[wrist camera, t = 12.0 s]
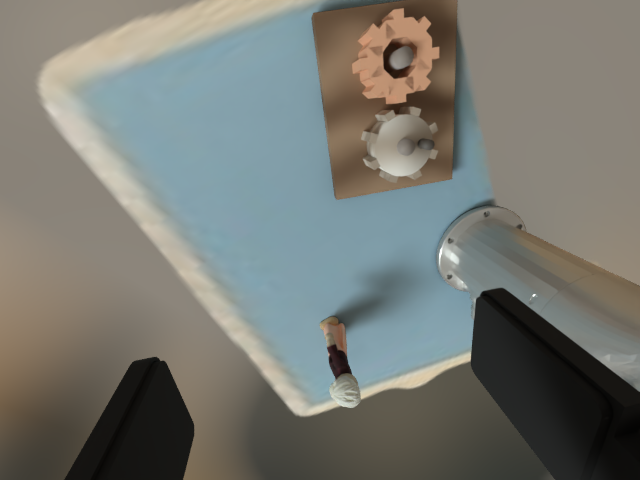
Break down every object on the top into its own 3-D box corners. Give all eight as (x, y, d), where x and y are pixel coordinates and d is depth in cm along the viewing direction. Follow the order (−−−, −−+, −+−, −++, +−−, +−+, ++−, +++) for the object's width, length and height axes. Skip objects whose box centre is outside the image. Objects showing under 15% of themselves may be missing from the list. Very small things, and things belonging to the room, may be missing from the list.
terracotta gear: (423, 98, 32) (438, 96, 29) (356, 108, 32) (364, 108, 29) (423, 14, 29) (439, 3, 26) (348, 24, 29) (356, 14, 26)
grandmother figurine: (353, 338, 45) (380, 415, 34) (330, 349, 46) (349, 430, 34) (330, 301, 42) (351, 372, 31) (306, 313, 43) (318, 389, 31)
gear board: (445, 176, 38) (476, 188, 32) (334, 196, 37) (345, 212, 31) (449, -2, 30) (490, -29, 25) (311, 17, 29) (320, -6, 24)
